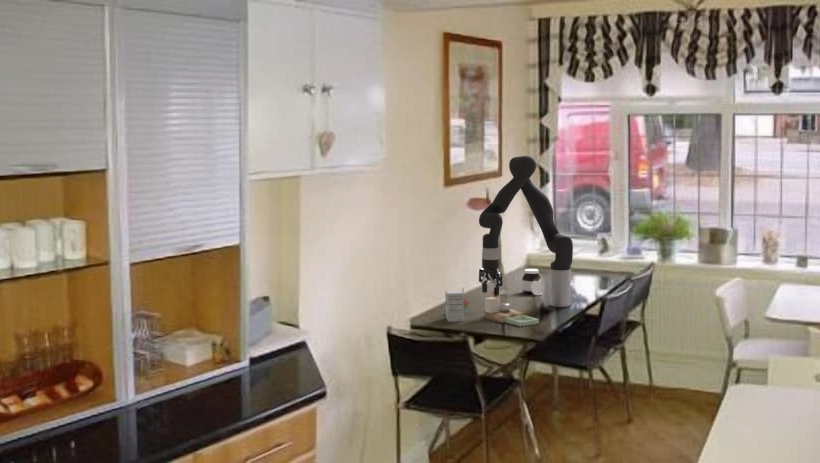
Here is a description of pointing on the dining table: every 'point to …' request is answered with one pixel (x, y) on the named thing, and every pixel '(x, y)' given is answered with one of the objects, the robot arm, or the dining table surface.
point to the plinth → (503, 315)
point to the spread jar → (532, 282)
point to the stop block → (491, 304)
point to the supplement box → (454, 305)
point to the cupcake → (465, 303)
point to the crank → (503, 306)
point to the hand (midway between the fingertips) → (490, 294)
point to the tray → (522, 320)
